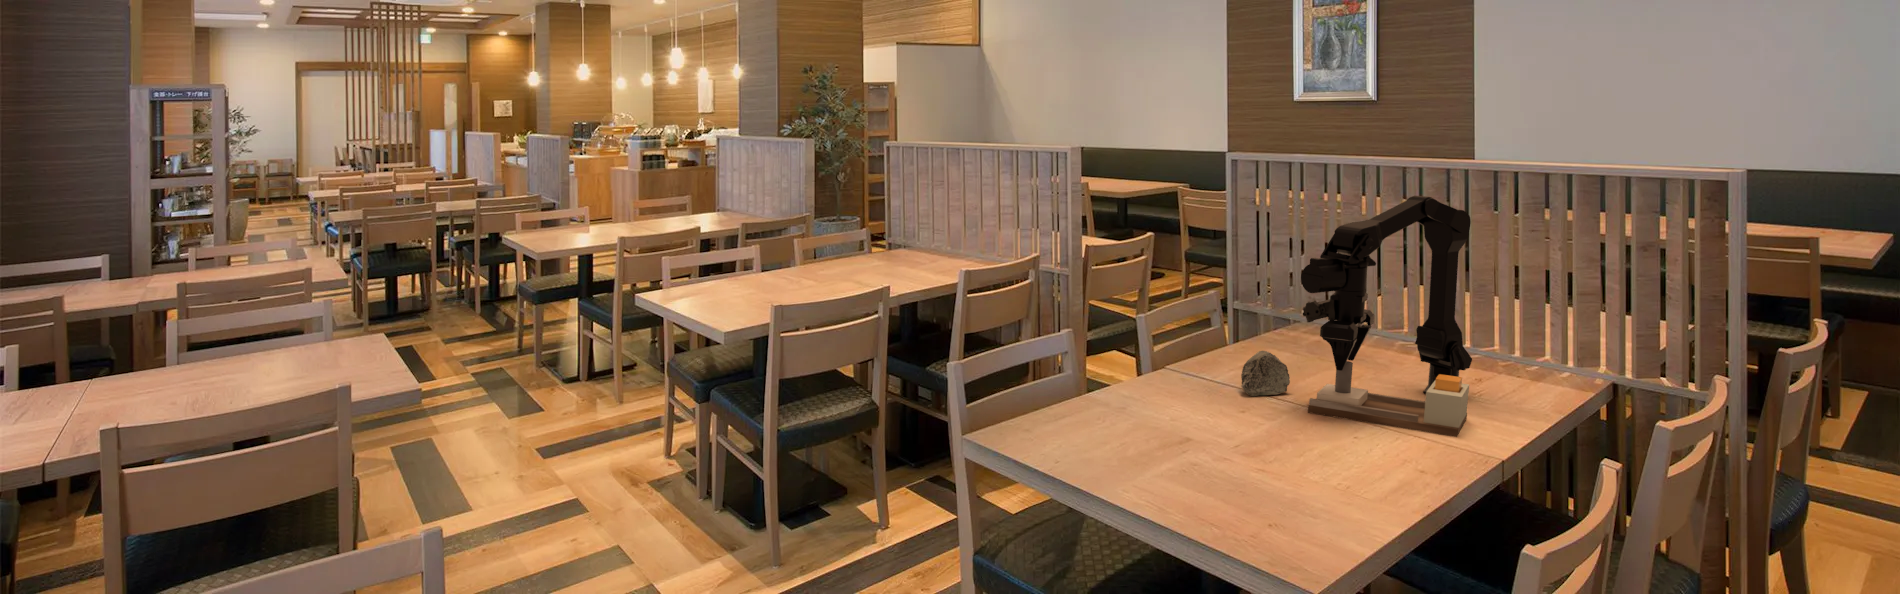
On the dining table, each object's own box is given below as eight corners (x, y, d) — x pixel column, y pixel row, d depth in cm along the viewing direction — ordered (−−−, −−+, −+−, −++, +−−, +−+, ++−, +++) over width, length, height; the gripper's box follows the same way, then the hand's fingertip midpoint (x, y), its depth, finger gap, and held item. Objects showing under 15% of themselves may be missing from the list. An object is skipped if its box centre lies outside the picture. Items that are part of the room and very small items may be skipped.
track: (1323, 398, 206) (1324, 385, 205) (1466, 420, 190) (1467, 407, 190) (1308, 412, 196) (1308, 399, 196) (1457, 437, 181) (1458, 423, 180)
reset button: (1436, 399, 189) (1439, 374, 188) (1459, 402, 187) (1462, 377, 186) (1433, 404, 186) (1435, 378, 185) (1456, 407, 184) (1459, 382, 183)
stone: (1273, 352, 204) (1267, 340, 213) (1234, 380, 207) (1229, 367, 216) (1302, 386, 204) (1294, 373, 214) (1262, 414, 207) (1256, 399, 217)
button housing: (1432, 409, 193) (1435, 379, 192) (1466, 414, 189) (1469, 384, 188) (1423, 422, 185) (1426, 391, 184) (1458, 427, 181) (1461, 396, 180)
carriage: (1326, 392, 203) (1329, 355, 202) (1367, 399, 199) (1370, 361, 197) (1316, 402, 197) (1318, 363, 195) (1358, 408, 192) (1361, 369, 191)
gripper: (1320, 278, 205) (1316, 350, 208) (1295, 292, 190) (1291, 369, 193) (1377, 283, 199) (1371, 357, 202) (1355, 298, 184) (1350, 377, 187)
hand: (1345, 365), depth 196 cm, fingers open, 9 cm apart
